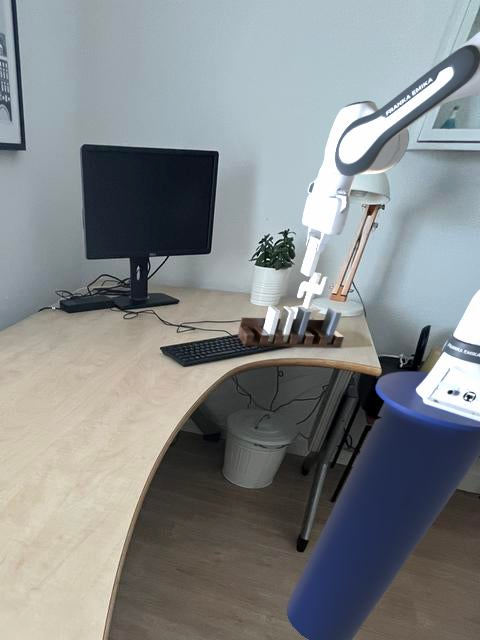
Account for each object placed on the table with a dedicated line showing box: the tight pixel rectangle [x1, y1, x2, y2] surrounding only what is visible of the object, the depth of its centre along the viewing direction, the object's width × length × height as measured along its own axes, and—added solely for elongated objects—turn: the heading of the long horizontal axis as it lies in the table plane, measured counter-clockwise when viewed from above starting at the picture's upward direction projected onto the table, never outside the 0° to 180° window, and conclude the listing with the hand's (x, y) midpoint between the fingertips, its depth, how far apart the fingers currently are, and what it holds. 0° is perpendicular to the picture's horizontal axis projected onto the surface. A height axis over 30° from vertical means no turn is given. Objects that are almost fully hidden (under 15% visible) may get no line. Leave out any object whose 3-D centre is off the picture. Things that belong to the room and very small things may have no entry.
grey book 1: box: [292, 305, 311, 343], centre depth 134 cm, size 6×2×9 cm, turn 0°
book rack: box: [237, 317, 345, 349], centre depth 136 cm, size 9×30×6 cm, turn 90°
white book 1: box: [263, 305, 281, 342], centre depth 134 cm, size 6×2×9 cm, turn 0°
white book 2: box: [278, 305, 296, 342], centre depth 134 cm, size 6×2×9 cm, turn 0°
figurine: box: [290, 271, 330, 319], centre depth 153 cm, size 7×9×15 cm
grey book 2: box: [321, 306, 342, 343], centre depth 135 cm, size 6×2×9 cm, turn 0°
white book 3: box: [300, 235, 322, 278], centre depth 123 cm, size 6×2×9 cm, turn 179°
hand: (314, 248), depth 122 cm, fingers closed on white book 3, 6 cm apart
